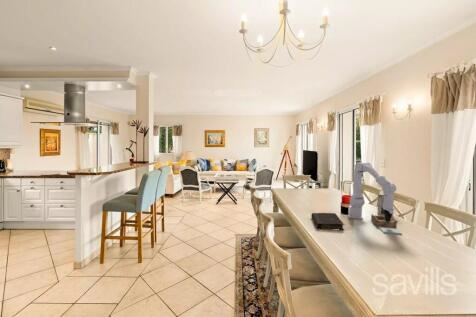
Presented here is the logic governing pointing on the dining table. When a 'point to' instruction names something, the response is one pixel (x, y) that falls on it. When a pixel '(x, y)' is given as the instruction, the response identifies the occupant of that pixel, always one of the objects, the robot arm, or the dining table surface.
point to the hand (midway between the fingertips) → (387, 221)
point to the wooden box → (383, 221)
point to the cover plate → (390, 230)
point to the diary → (327, 221)
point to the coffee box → (381, 205)
